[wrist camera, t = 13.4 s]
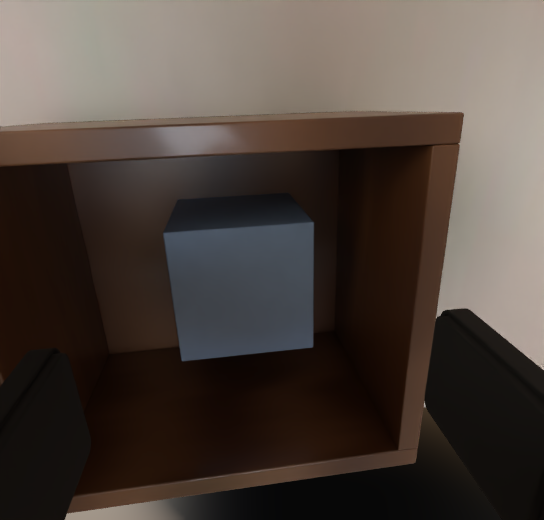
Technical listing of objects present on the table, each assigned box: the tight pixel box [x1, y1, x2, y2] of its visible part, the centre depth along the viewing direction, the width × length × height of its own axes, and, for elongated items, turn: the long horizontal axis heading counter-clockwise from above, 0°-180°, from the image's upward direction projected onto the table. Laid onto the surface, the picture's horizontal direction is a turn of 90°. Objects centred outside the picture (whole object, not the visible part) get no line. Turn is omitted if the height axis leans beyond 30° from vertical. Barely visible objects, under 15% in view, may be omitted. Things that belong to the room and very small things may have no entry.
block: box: [163, 193, 314, 361], centre depth 17 cm, size 5×5×5 cm
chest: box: [0, 111, 464, 513], centre depth 16 cm, size 14×13×9 cm
